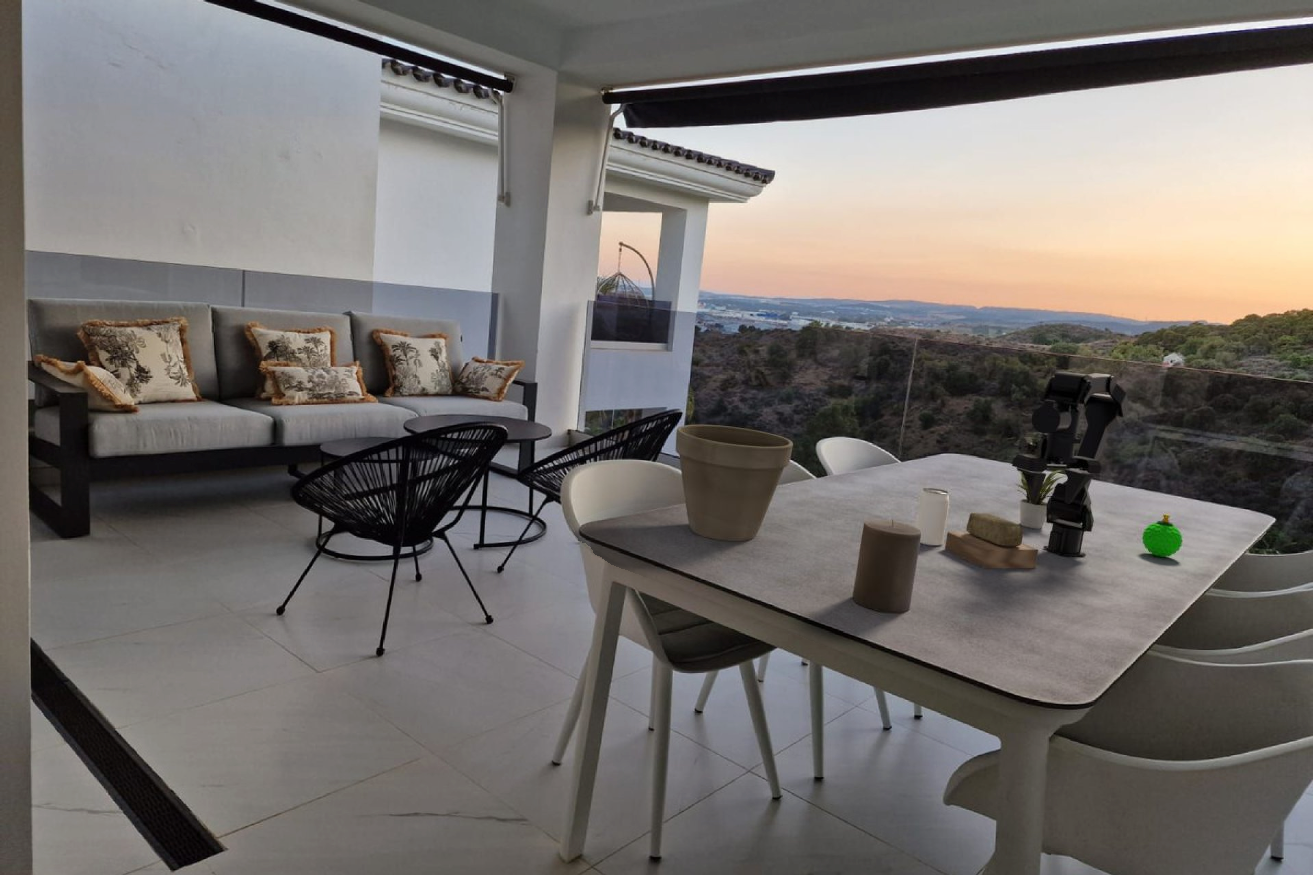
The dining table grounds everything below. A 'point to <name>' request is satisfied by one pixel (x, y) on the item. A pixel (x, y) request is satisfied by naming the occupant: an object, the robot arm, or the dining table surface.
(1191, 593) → the dining table surface
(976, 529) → the stone block
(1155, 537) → the ornament
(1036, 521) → the house plant
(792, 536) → the dining table surface
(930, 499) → the can
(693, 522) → the plant pot
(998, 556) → the plinth
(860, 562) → the pillar candle
